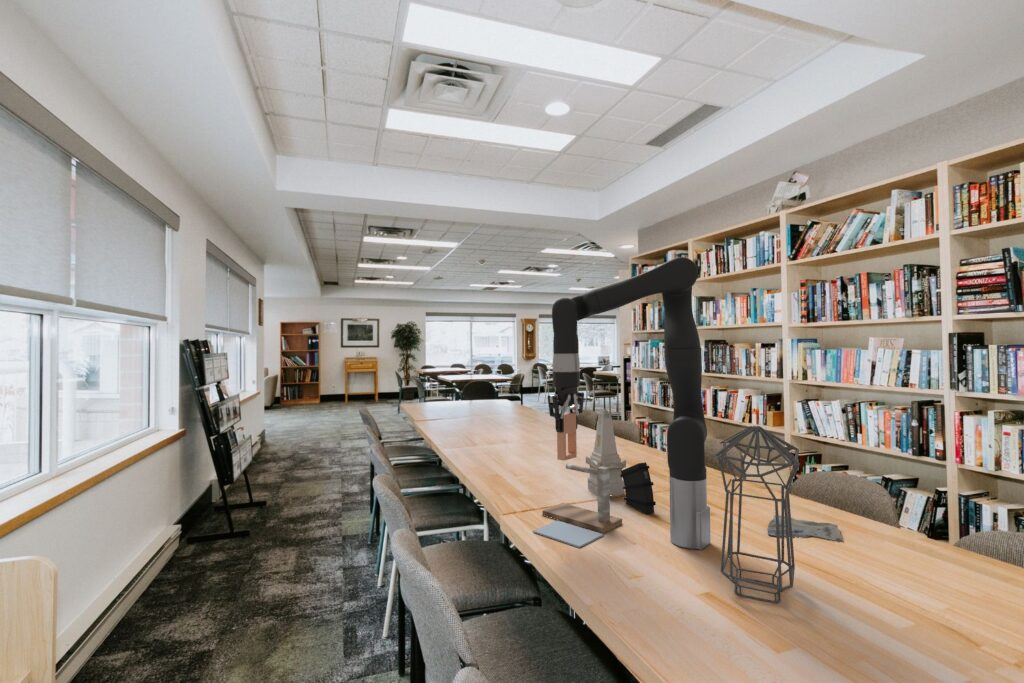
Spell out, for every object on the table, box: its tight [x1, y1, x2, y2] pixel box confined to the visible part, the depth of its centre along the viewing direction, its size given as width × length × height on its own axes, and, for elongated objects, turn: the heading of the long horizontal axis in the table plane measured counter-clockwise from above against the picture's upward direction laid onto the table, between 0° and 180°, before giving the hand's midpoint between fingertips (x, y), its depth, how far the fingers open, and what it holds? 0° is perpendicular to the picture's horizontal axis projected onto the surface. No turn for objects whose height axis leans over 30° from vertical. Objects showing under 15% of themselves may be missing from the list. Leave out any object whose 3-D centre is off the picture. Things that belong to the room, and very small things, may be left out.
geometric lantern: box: [712, 425, 801, 604], centre depth 102 cm, size 16×16×35 cm
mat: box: [532, 520, 604, 549], centre depth 135 cm, size 16×11×1 cm
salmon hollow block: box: [556, 412, 578, 461], centre depth 135 cm, size 2×6×12 cm, turn 137°
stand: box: [541, 463, 623, 534], centre depth 146 cm, size 22×10×17 cm, turn 46°
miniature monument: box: [585, 407, 627, 496], centre depth 174 cm, size 10×10×30 cm
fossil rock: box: [766, 514, 844, 543], centre depth 135 cm, size 18×15×2 cm
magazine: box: [620, 461, 657, 515], centre depth 156 cm, size 4×13×15 cm, turn 23°
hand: (566, 430), depth 135 cm, fingers closed on salmon hollow block, 5 cm apart
